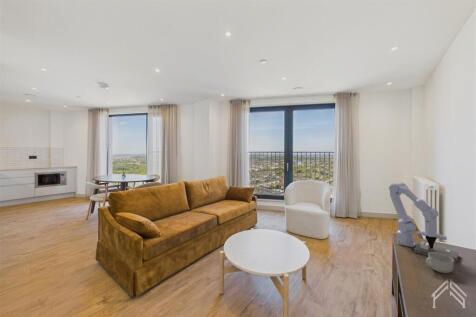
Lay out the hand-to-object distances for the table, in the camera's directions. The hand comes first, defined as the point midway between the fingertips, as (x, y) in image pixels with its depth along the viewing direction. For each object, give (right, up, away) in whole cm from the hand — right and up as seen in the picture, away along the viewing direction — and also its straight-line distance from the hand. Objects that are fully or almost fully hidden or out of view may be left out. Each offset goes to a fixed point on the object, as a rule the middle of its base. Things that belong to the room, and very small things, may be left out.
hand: (431, 247), depth 143 cm
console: (+1, -3, -1) cm, 4 cm away
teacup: (-14, -5, -20) cm, 25 cm away
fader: (-2, -1, +3) cm, 3 cm away
